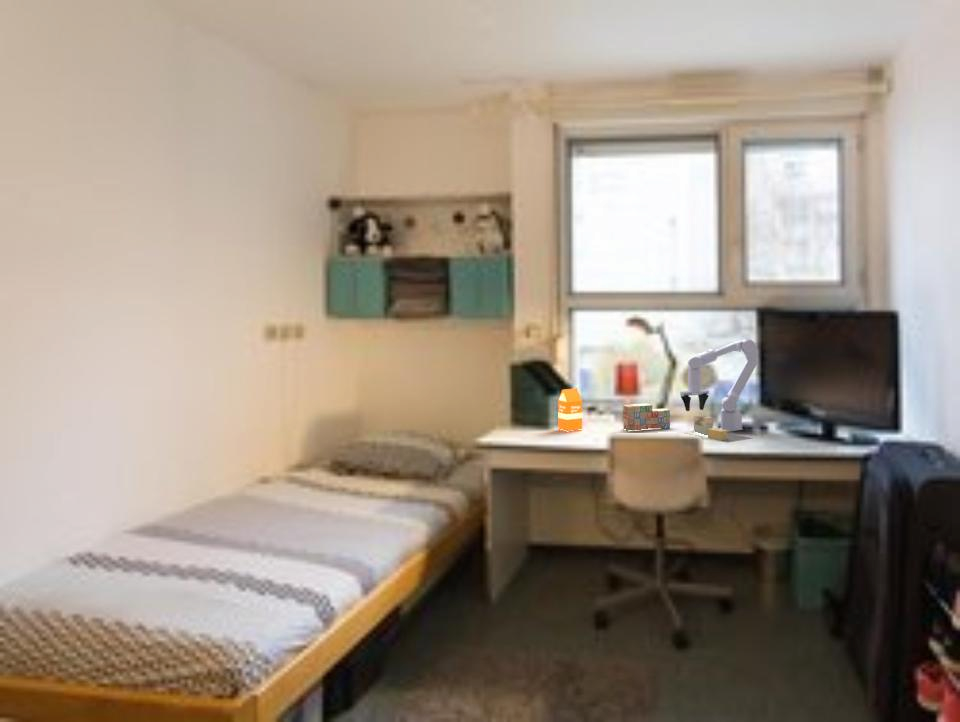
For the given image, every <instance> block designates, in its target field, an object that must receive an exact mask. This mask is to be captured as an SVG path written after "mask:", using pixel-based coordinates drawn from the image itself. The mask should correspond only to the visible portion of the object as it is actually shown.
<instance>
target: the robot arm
mask: <svg viewBox="0 0 960 722" xmlns="http://www.w3.org/2000/svg"><path fill="white" fill-rule="evenodd" d="M734 351H735V352H743V354H744V357H745V359H746V361H745V363H744V364H743V366H742V368H741V370H740V372H739V373H738V376H737V377H736V380H735V381H734V383H733V385H732V386H731V387H730V390H729V391H728V392H727V394H726V395H725V396H723V397H722V399H721V401H720V404H721V407H722V409H721V410H720V427H719V428H717V427H716V428H717V429H723V430H727V433H730V432H735V431H736V432H737V431H741V430H742V431H743V430H744V429H743V427H742V426H743V423H742V422H743V416H742V413H741V412H740V411H739V410H737V407H738V406H737V405H738V401H739V398H740V396H741V394H742V392H743V390H744V388H745V387H746V386H747V383H748V381H749V379H750V377H751V375H752V374H753V372H754V370H755V369H756V367H757V365H758V364H759V354H758V352H759V351H758V347H757V344H756V343H755V342H754V340H752V339H751V338H743V339H742V340H741V339H739V340H736V341H734V342H733V341H732V342H731V343H729V344H727V345H724V346H722V347H720V348H717V349H715V350H714V349H709V348H707V349H705V351H703V352H702V353H697V354H695V355H693V356H691V357H689V358H688V361H687V364H688V373H687V374H688V376H687V377H688V379H687V380H688V381H687V383H688V384H687V385H688V387H687V388H688V390H684V391H680V392H679V396H680V398H681V400H682V402H683V404H684V409H685V411H686V412H690V411H691V406H690V405H691V400H692V397H691V396H698V403H699V410H701V411H703V410H704V409H705V405H706V402H707V401H708V398H709V394H710V390H709V389H702V371H701V367H702V366H706V365H708V364H711V363H713V362H716V361H717V359H718V357H721V356H723V355H726V354H728V353H731V352H734Z"/></svg>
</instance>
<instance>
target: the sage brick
mask: <svg viewBox="0 0 960 722" xmlns="http://www.w3.org/2000/svg"><path fill="white" fill-rule="evenodd" d="M710 428H714V425H713V426H709V427H704V426H699V425H694V424H693V432H694V431H695V432H698V433H701V434H704V435H708V429H710Z"/></svg>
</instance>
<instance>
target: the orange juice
mask: <svg viewBox="0 0 960 722" xmlns="http://www.w3.org/2000/svg"><path fill="white" fill-rule="evenodd" d="M557 406H558V407H557V411H558V412H557V415H558V416H557V418H558V424H557V425H558V427H557V428H558V429H559V428H560V429H563V430H566V431H569V430H578V429H582V430H583V400H582V397H581V395H580V393H579V390H578V388H577V387H576V388H575V387H574V388H566V389H562V390H561V393H560V394H559V397H558V399H557Z"/></svg>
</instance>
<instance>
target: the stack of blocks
mask: <svg viewBox="0 0 960 722" xmlns="http://www.w3.org/2000/svg"><path fill="white" fill-rule="evenodd" d="M622 407H623V408H622V410H623V411H622V417H623V420H622V421H623V430H624V429H626V430H641V429H648V428H665V427H666V428H667V429H670V428H671V415H670V414H671V412H670V410H669V409H667V408H664V407H663V408H653V404H649V403H647V402H646V403H634V404H633V403H632V404H623V406H622Z"/></svg>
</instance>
